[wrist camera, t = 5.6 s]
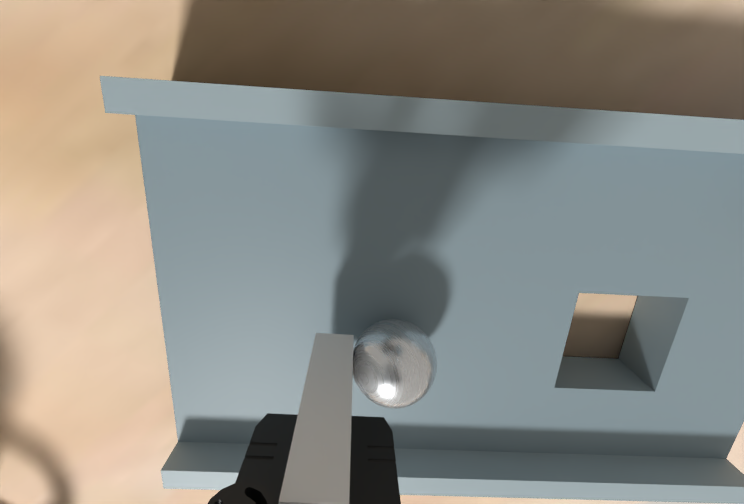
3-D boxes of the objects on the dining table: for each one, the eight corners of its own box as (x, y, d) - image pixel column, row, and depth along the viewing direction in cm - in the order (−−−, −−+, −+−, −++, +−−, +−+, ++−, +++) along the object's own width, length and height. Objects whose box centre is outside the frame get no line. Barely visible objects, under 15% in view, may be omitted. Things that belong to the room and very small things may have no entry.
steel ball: (409, 363, 11) (462, 332, 13) (339, 317, 13) (395, 297, 15) (391, 444, 12) (443, 402, 14) (328, 390, 14) (383, 361, 16)
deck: (168, 90, 14) (99, 75, 11) (799, 132, 15) (941, 133, 12) (202, 418, 19) (163, 488, 16) (677, 434, 20) (749, 503, 17)
